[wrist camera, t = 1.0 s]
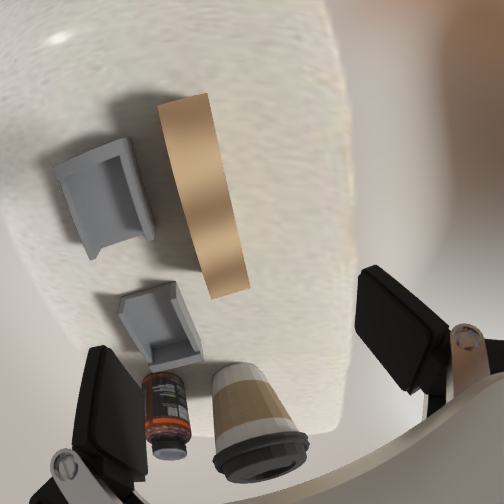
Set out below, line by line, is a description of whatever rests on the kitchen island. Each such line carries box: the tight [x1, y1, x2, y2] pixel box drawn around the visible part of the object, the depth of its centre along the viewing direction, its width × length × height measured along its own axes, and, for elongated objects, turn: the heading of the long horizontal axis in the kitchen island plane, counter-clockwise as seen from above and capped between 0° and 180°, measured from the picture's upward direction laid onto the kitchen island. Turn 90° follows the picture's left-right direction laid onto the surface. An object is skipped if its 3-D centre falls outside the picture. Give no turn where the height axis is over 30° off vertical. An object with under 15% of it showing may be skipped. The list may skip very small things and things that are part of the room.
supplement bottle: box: [142, 373, 191, 461], centre depth 28 cm, size 6×6×11 cm
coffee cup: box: [212, 363, 310, 484], centre depth 29 cm, size 11×11×15 cm
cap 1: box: [53, 137, 156, 260], centre depth 20 cm, size 9×6×3 cm
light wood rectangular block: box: [157, 93, 250, 299], centre depth 22 cm, size 16×4×5 cm, turn 11°
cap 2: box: [118, 281, 204, 373], centre depth 27 cm, size 9×6×3 cm
